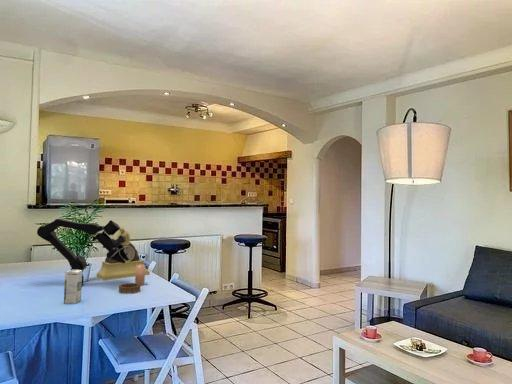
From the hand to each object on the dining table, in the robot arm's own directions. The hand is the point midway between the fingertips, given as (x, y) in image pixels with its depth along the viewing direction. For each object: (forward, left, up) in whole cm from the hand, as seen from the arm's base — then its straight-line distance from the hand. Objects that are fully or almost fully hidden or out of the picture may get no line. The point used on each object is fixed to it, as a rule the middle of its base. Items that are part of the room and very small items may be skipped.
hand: (126, 261), depth 211 cm
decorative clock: (+11, +24, -13) cm, 29 cm away
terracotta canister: (+6, -5, -13) cm, 15 cm away
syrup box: (-34, -14, -13) cm, 39 cm away
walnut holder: (-5, -13, -13) cm, 19 cm away
